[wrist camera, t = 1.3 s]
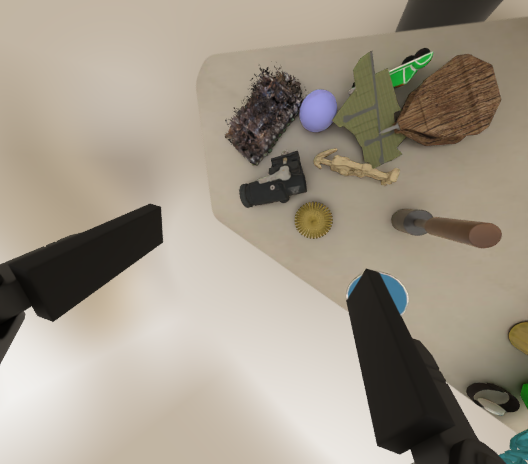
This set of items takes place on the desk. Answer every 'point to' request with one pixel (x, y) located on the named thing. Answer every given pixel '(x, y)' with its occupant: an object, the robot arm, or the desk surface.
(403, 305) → the disc
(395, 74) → the toy car
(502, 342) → the desk surface
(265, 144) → the dark brown fibrous block
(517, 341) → the vase
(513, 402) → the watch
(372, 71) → the map
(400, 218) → the brush
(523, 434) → the decorative art
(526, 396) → the apple
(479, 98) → the wooden sandwich slab
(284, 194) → the scope
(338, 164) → the toy
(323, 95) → the sphere
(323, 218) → the sculpture
